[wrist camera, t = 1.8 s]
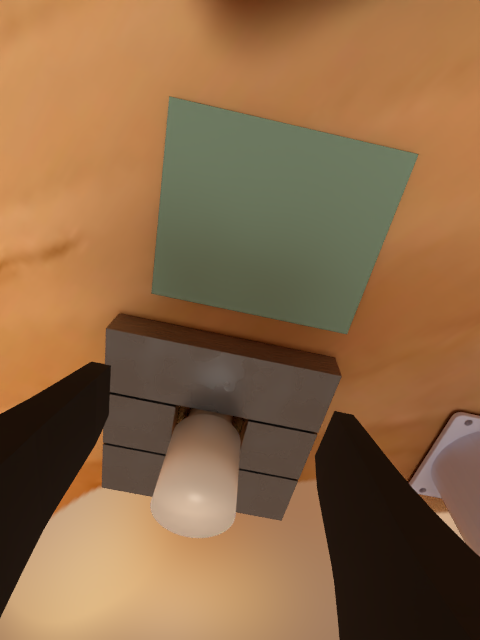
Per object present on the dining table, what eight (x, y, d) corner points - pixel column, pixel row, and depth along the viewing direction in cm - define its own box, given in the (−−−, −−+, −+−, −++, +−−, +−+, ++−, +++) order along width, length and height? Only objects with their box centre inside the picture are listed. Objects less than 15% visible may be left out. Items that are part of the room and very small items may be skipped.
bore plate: (335, 357, 22) (341, 376, 20) (280, 497, 28) (281, 520, 26) (119, 313, 21) (106, 328, 19) (112, 465, 27) (101, 487, 26)
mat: (414, 154, 16) (418, 154, 16) (345, 331, 21) (346, 334, 20) (171, 97, 16) (169, 96, 16) (153, 291, 20) (151, 293, 20)
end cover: (248, 399, 24) (243, 491, 17) (235, 446, 26) (227, 544, 19) (183, 386, 23) (154, 474, 17) (176, 434, 25) (147, 529, 19)
